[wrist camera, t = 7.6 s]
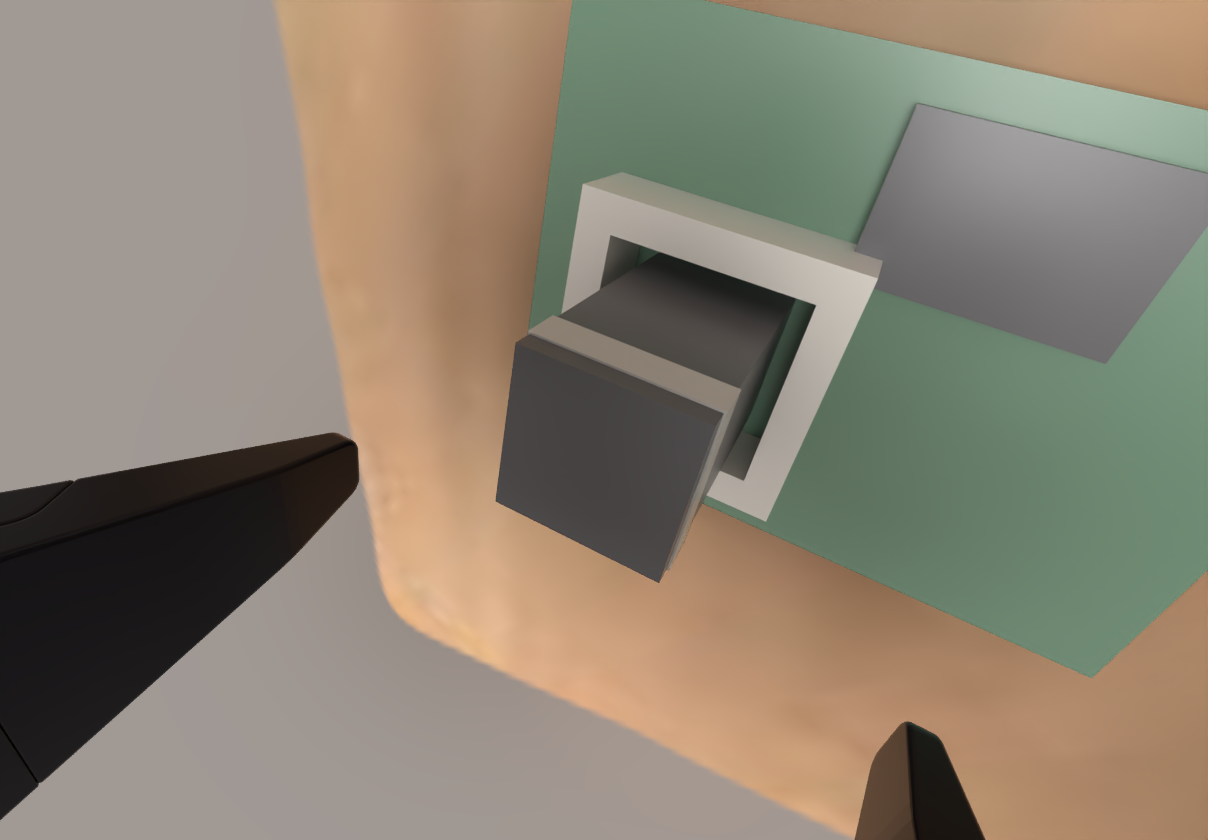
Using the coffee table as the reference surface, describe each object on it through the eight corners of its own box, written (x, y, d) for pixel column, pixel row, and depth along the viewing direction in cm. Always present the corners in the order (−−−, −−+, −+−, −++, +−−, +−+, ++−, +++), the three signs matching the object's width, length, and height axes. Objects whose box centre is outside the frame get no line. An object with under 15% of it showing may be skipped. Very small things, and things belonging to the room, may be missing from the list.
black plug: (799, 293, 17) (719, 424, 10) (751, 416, 19) (660, 585, 13) (663, 246, 18) (513, 339, 11) (632, 368, 20) (493, 502, 14)
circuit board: (1551, 188, 11) (1766, 225, 8) (1083, 648, 19) (1111, 751, 16) (596, -22, 17) (524, -44, 14) (532, 406, 24) (477, 450, 21)
